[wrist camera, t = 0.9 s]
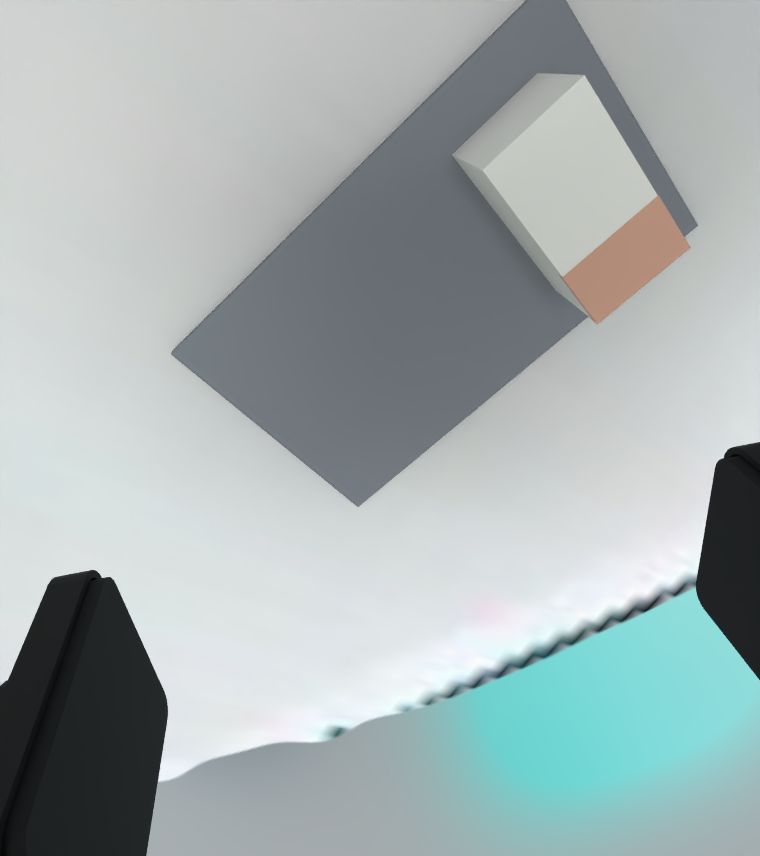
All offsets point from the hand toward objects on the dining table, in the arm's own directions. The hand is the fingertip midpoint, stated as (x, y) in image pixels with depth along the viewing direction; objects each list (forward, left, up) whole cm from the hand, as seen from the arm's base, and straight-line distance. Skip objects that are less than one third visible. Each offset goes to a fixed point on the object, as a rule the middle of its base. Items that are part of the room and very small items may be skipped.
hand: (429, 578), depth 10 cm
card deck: (-9, +6, -24) cm, 27 cm away
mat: (-2, +6, -25) cm, 25 cm away
